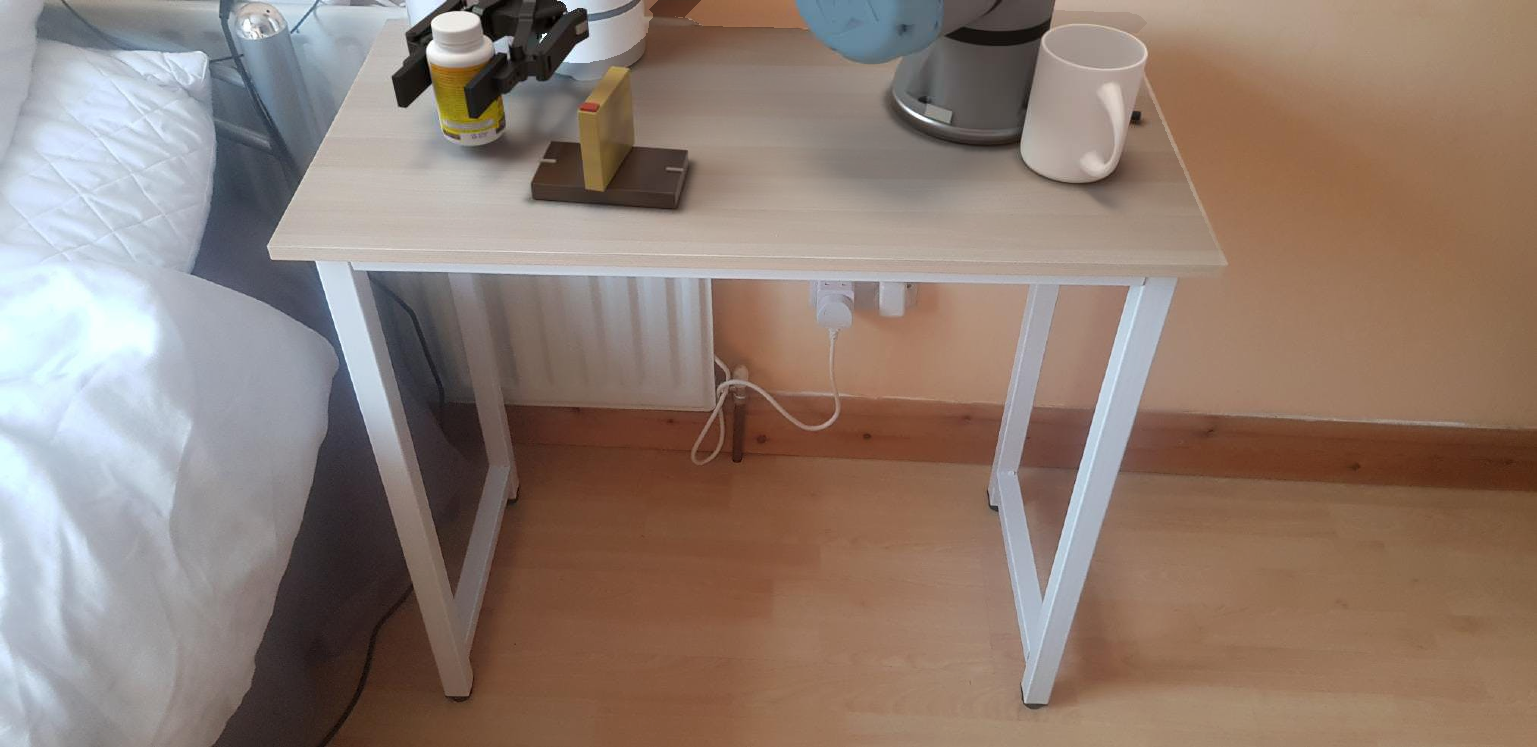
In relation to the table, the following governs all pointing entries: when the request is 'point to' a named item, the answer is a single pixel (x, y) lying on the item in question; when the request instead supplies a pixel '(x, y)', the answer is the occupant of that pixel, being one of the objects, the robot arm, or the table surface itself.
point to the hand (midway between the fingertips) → (434, 97)
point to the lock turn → (606, 128)
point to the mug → (1081, 101)
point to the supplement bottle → (461, 78)
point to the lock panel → (636, 182)
